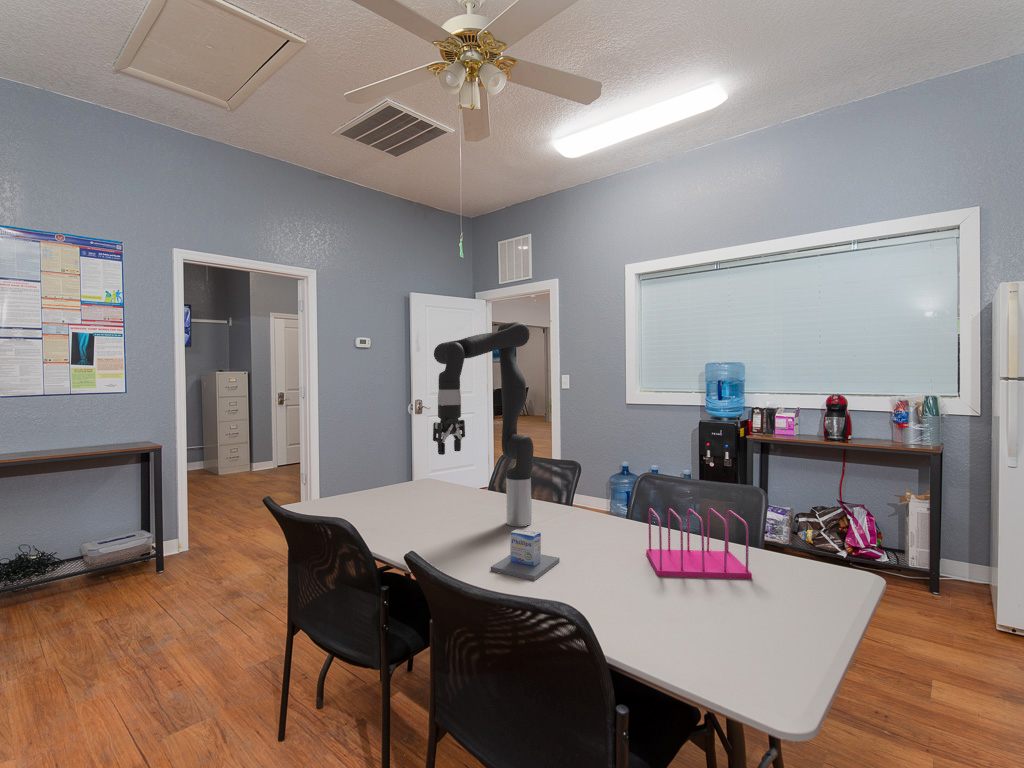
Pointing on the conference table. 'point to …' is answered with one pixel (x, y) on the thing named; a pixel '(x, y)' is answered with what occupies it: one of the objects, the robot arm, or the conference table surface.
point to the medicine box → (525, 547)
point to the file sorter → (697, 554)
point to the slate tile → (525, 567)
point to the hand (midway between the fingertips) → (449, 452)
